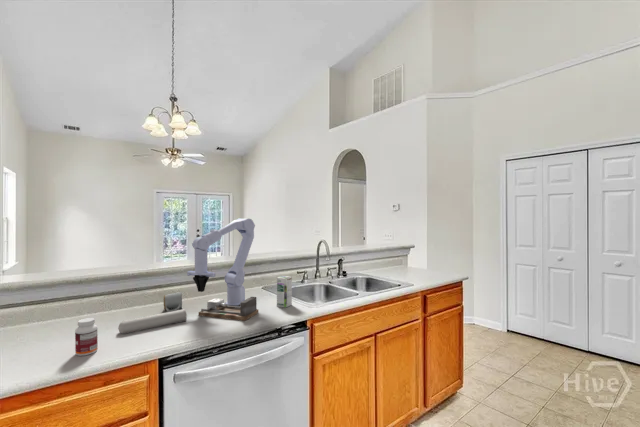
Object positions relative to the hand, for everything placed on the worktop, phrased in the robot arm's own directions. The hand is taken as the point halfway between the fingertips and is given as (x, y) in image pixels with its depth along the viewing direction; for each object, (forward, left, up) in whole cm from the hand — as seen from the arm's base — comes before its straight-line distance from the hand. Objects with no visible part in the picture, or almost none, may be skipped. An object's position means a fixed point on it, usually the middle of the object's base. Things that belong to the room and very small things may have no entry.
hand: (201, 291), depth 157 cm
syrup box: (-20, +34, -10) cm, 41 cm away
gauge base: (0, +15, -9) cm, 18 cm away
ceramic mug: (+2, -15, -10) cm, 18 cm away
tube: (+24, -5, -10) cm, 26 cm away
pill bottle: (+50, -8, -10) cm, 52 cm away
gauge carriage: (+1, +9, -8) cm, 12 cm away
